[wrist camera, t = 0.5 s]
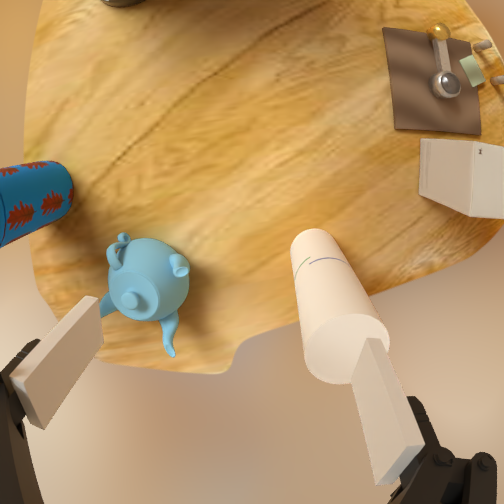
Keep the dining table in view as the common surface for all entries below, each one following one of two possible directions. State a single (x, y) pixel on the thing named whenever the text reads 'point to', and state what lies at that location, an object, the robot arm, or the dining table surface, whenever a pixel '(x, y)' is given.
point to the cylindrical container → (331, 308)
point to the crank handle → (442, 64)
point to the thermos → (32, 198)
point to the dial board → (417, 83)
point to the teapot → (146, 283)
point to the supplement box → (463, 176)
